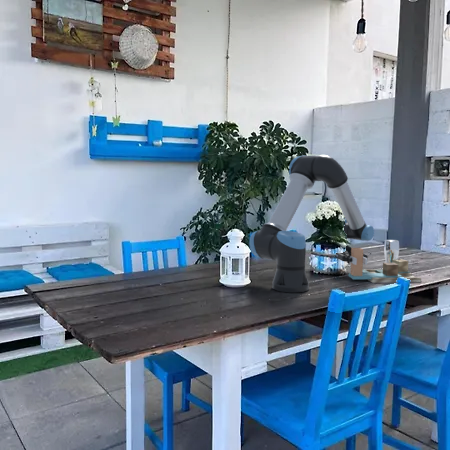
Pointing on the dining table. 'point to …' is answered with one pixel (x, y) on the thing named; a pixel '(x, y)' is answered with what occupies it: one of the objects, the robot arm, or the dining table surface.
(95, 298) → the dining table surface
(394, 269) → the walnut block
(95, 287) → the dining table surface
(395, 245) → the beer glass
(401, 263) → the oak block
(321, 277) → the dining table surface
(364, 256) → the robot arm
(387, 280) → the lane board
